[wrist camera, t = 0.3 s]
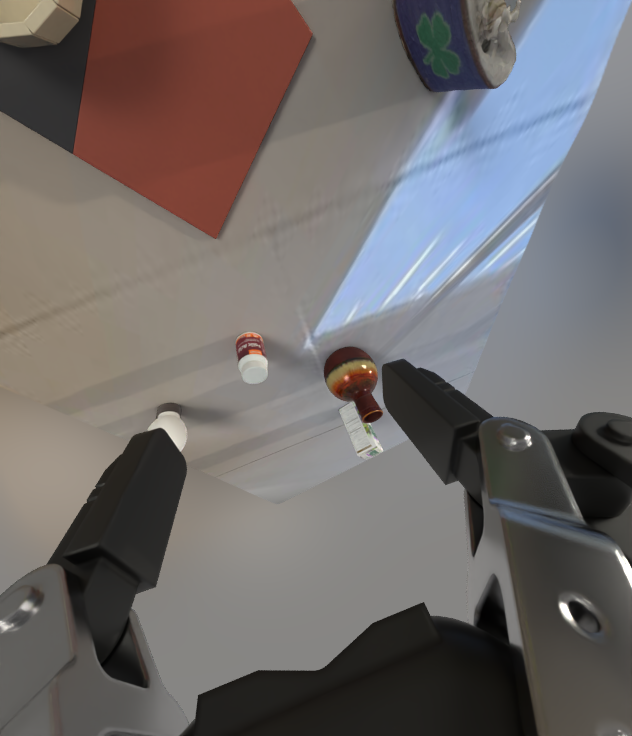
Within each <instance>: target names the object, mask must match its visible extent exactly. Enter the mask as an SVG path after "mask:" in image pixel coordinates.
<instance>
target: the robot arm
mask: <svg viewBox="0 0 632 736" xmlns="http://www.w3.org/2000/svg"><path fill="white" fill-rule="evenodd" d="M382 383H383V399H384V403H385V406H386V408H387V410H388V412H389V413H390V414H391V416H392V417H393V418H394V420H395V421H396V422H397V423H398V425H399V426H400V427H401V429H402V430H403V431H404V432H405V434H406V435H407V436H408V437H409V439H410V440H411V441H412V442H413V444H414V445H415V446H416V448H417V449H418V450H419V452H420V453H421V454H422V455H423V457H424V458H425V459H426V461H427V462H428V463H429V464H430V466H431V467H432V468H433V470H434V471H435V472H436V473H437V475H438V476H439V477H440V478H441V480H442V481H443V482H444V484H445V485H447V484H450V483H452V482H455V481H459V482H460V483H461V484H462V485H463V486H464V488H465V489H464V504H465V519H466V534H467V550H468V575H467V613H468V623H466V622H462V621H459V620H456V619H453V618H447V617H441V616H430V614H429V612H428V610H427V608H426V606H425V604H424V602H423V603H420V604H418V605H415V606H413V607H411V608H408V609H406V610H404V611H401V612H399V613H396V614H394V615H391V616H389V617H387V618H384V619H382V620H379V621H377V622H374V623H372V624H371V625H370V626H369V627H368V628H367V629H366V630H365V631H364V632H363V633H362V634H360V635H359V636H358V637H357V638H356V639H355V640H354V641H353V642H352V643H351V644H350V645H349V646H348V647H346V648H345V649H344V650H343V651H342V652H341V653H340V654H339V655H338V656H337V657H335V658H334V659H333V660H332V661H331V662H330V663H329V664H328V665H327V666H325V667H324V668H323V669H320V670H316V671H267V670H266V671H265V670H264V671H263V670H261V671H260V670H258V671H256V672H253V673H251V674H248V675H246V676H244V677H241V678H239V679H236V680H234V681H232V682H229V683H227V684H224V685H222V686H219V687H217V688H215V689H212V690H210V691H207V692H205V693H203V694H200V695H198V701H197V710H196V718H195V719H194V720H193V721H192V722H191V724H190V725H189V722H188V720H187V718H186V716H185V714H184V712H183V711H182V709H181V707H180V705H179V704H178V703H177V701H176V700H175V699H174V698H173V697H172V696H171V695H170V694H169V692H168V691H167V690H166V688H165V687H164V685H163V683H162V681H161V678H160V675H159V673H158V670H157V667H156V665H155V662H154V659H153V656H152V654H151V651H150V648H149V646H148V643H147V640H146V637H145V635H144V632H143V629H142V627H141V624H140V621H139V619H138V616H137V614H136V612H135V610H133V609H132V608H131V607H132V603H133V601H134V598H135V595H136V594H138V593H140V592H143V591H146V590H149V589H151V588H154V587H156V584H157V581H158V577H159V573H160V570H161V565H162V562H163V559H164V555H165V551H166V547H167V544H168V540H169V536H170V533H171V529H172V525H173V522H174V518H175V514H176V511H177V507H178V503H179V499H180V496H181V492H182V489H183V485H184V481H185V477H186V472H187V466H186V461H185V458H184V456H183V455H182V453H181V452H180V451H179V449H178V448H177V446H176V445H175V443H174V442H173V440H172V439H171V438H170V436H169V435H168V433H167V432H166V431H165V430H164V429H163V428H157V429H153V430H150V431H146V432H143V433H139V434H136V435H134V436H133V437H132V438H131V440H130V442H129V444H128V445H127V447H126V448H125V450H124V452H123V454H121V455H120V456H119V457H118V458H117V459H116V460H115V461H114V462H113V463H112V464H111V465H110V466H109V467H108V468H107V469H106V470H105V471H104V473H103V475H102V476H101V478H100V480H99V481H98V483H97V484H96V486H95V487H96V489H94V490H93V491H92V492H91V494H90V496H89V497H88V499H87V503H86V504H84V505H83V507H82V508H81V510H80V512H79V513H78V515H77V516H76V518H75V520H74V521H73V523H72V524H71V526H70V528H69V529H68V531H67V533H66V534H65V536H64V537H63V539H62V541H61V542H60V544H59V546H58V547H57V549H56V550H55V552H54V554H53V555H52V557H51V558H50V560H49V561H48V563H47V564H46V565H44V566H42V567H39V568H37V569H35V570H33V571H31V572H30V573H28V574H26V575H25V576H24V577H22V578H21V579H19V580H18V581H16V582H15V583H14V584H13V585H11V586H10V587H9V588H8V589H7V590H6V591H5V592H3V593H2V594H1V595H0V736H632V418H631V417H627V416H623V415H619V414H614V413H606V412H594V413H588V414H586V415H584V416H582V417H581V419H580V420H579V422H578V424H577V426H576V428H575V429H572V430H571V429H570V430H544V431H543V430H542V431H540V430H538V429H537V428H536V427H534V426H532V425H530V424H528V423H526V422H523V421H521V420H517V419H514V418H508V417H493V416H492V415H490V414H489V413H488V412H486V411H485V410H484V409H482V408H481V407H480V406H478V405H477V404H476V403H474V402H473V401H472V400H470V399H469V398H467V397H466V396H465V395H464V394H462V393H461V392H460V391H458V390H455V388H454V387H453V386H452V385H450V384H449V383H448V382H447V383H446V382H445V380H444V379H442V378H441V377H440V376H438V375H437V374H435V373H434V372H431V371H428V370H426V369H423V368H417V369H416V368H415V367H414V366H413V365H411V364H410V363H409V362H408V361H406V360H405V359H400V360H396V361H393V362H390V363H386V364H383V366H382Z"/></svg>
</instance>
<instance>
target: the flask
mask: <svg viewBox="0 0 632 736" xmlns="http://www.w3.org/2000/svg"><path fill="white" fill-rule="evenodd" d="M520 4H521V0H518V1H517V3H516V7H515V9H514V10H513V11H512V12H510V5H509V6H508V7H507V8H506V3H505V1H504V0H393V9H394V17H395V22H396V25H397V27H398V31H399V36H400V38H401V40H402V45H403V47H404V50H405V51H406V53H407V56H408V58H409V59H410V61H411V62H412V64H413V67H414V68H415V70H416V72H417V74H418V75H419V77H420V79H421V81H422V82H423V83H424V85H425V87H427V88H428V89H429V90H430V91H433V92H445V91H453V90H470V89H495V88H498V87H499V86H500V85H501V84H503V83H504V82H505V81H506V80H507V78H508V76H509V74H510V73H511V71H512V68H513V65H514V63H515V61H516V50H515V45H514V43H513V41H512V38H511V35H510V34H509V31H508V28H507V27H508V25H509V24H510V22H515V21H516V20H517V18H518V17H519V7H520Z"/></svg>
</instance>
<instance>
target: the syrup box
mask: <svg viewBox="0 0 632 736" xmlns="http://www.w3.org/2000/svg"><path fill="white" fill-rule="evenodd" d="M339 412H340V414H341V417H342V419H343V421H344V424H345V426H346V429H347V431H348V433H349V436H350V438H351V441H352V443H353V446H354V448H355V450H356V453H357V455H358V456H360V457H361V458H363V459H365V460H366V459H369V458H372V457H374V456H376V455H378V454H379V453H381V452H382V451H383V449H382V447H381V445H380V443H379V441H378V439H377V437H376V435H375V433H374V430H373V428H372V426H371V424H370V423H363V421H362V419H361V417H360V414H359V412H358V409H357V407H356V405H355V403H354V402H350V403H349V404H347V405H345V406H344V407H342V408H341V409H339Z"/></svg>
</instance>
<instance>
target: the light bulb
mask: <svg viewBox="0 0 632 736" xmlns="http://www.w3.org/2000/svg"><path fill="white" fill-rule="evenodd" d="M180 416H181V406H180V405H178V404H175V403H166V404H163V405H160V406H159V407H158V410H157V416H156V420H155V421H154V422H153V423H152V424H151V425H150V426H149V428H148V430H147V431H150V430H153V429H157V428H163V429H164V430H165V431H166V432H167V433H168V435H169V436H170V438H171V439H172V440H173V442H174V443H175V445H176V446H177V448H178V449H179V451H180V452H181V451H182V449H183V448H184V446H185V443H186V440H187V429H186V426H185V424H184V422H183V421H182V420H181V419H180Z"/></svg>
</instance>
